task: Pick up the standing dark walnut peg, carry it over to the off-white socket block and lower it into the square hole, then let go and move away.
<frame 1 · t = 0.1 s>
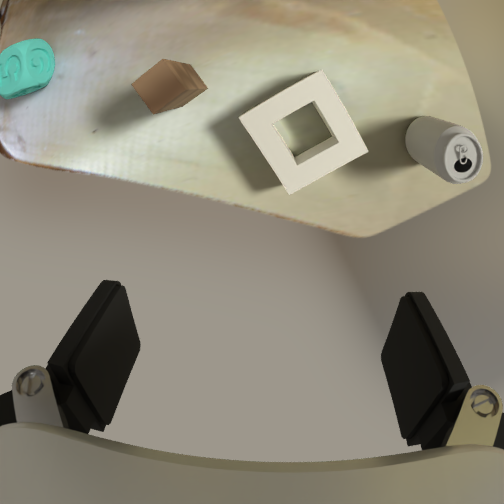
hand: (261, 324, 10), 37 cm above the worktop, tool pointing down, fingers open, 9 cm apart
can: (424, 139, 41), on the worktop
peg: (186, 85, 39), on the worktop
decorative dice: (39, 67, 37), on the worktop
socket block: (302, 128, 42), on the worktop
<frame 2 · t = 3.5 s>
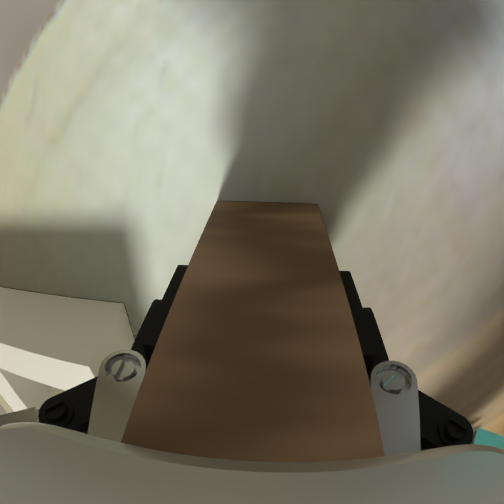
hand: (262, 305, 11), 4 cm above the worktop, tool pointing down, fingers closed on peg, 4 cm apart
peg: (265, 246, 15), on the worktop, touching gripper
socket block: (74, 357, 21), on the worktop
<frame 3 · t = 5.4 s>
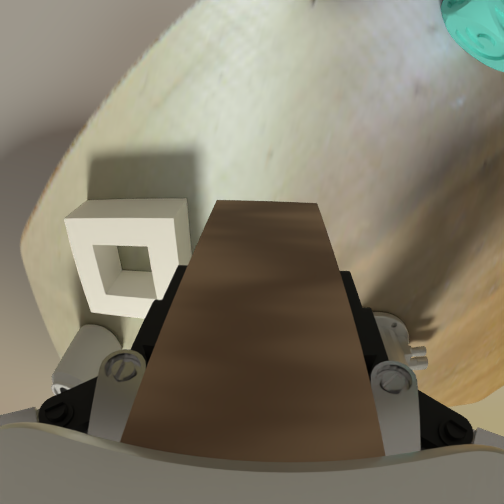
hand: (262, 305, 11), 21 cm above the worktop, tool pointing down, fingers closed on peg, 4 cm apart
can: (102, 338, 44), on the worktop
peg: (265, 245, 15), point 17 cm above the worktop, touching gripper
decorative dice: (471, 22, 20), on the worktop
socket block: (140, 248, 35), on the worktop
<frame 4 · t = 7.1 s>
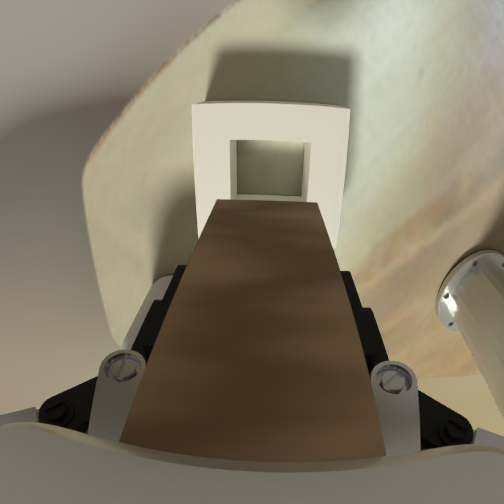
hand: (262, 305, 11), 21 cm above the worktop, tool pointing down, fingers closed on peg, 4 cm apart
can: (181, 296, 38), on the worktop
peg: (265, 245, 15), point 16 cm above the worktop, touching gripper
socket block: (269, 164, 29), on the worktop
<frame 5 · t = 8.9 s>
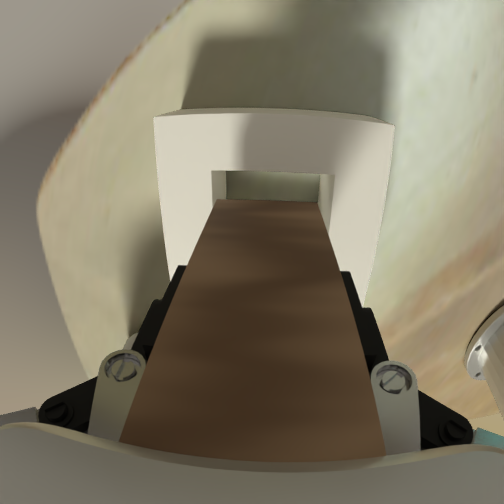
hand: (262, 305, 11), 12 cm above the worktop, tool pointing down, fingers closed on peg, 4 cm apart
peg: (265, 245, 15), point 7 cm above the worktop, touching gripper
socket block: (272, 197, 21), on the worktop
when the fingers open (6 cm above the worktop, at t = 10.6 s): peg drops 2 cm, resting in socket block.
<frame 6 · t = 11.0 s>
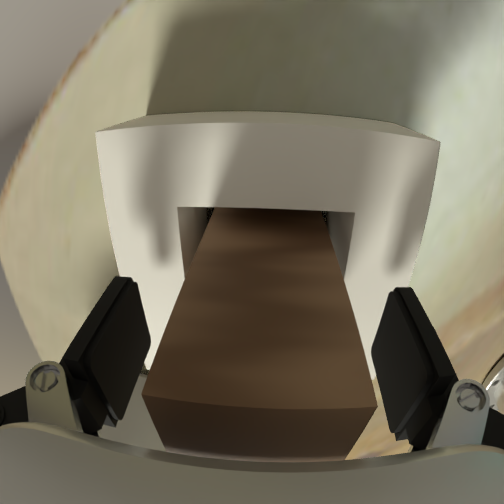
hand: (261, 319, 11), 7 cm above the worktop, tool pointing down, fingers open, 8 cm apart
can: (145, 391, 25), on the worktop
peg: (267, 228, 17), resting in socket block
socket block: (266, 228, 17), on the worktop
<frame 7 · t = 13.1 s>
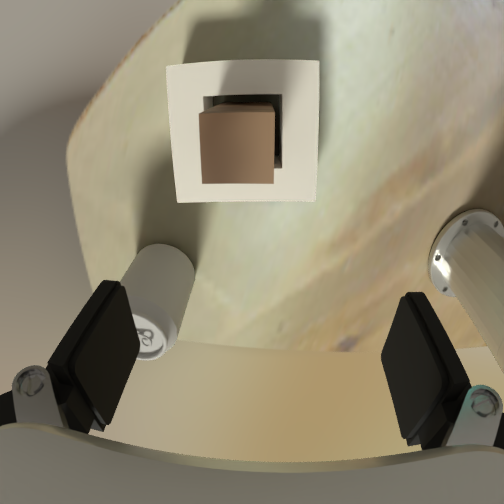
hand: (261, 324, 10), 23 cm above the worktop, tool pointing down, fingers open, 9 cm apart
can: (166, 266, 37), on the worktop
peg: (246, 124, 29), resting in socket block
socket block: (246, 124, 29), on the worktop
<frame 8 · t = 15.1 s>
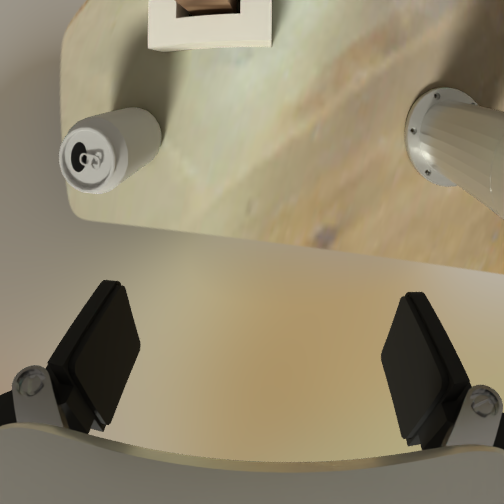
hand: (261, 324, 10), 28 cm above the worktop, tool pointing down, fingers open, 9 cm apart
can: (135, 136, 35), on the worktop
peg: (216, 0, 26), resting in socket block
socket block: (216, 0, 26), on the worktop
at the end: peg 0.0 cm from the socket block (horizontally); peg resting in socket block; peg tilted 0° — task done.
